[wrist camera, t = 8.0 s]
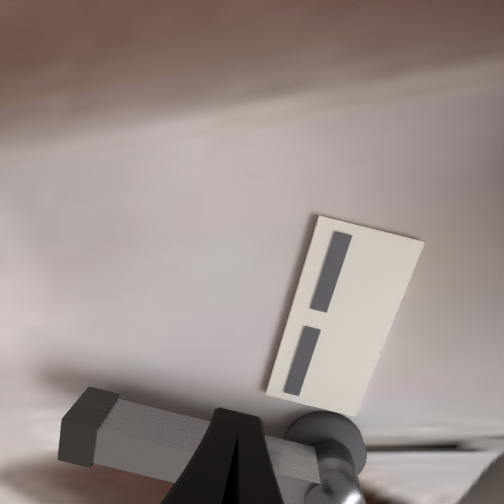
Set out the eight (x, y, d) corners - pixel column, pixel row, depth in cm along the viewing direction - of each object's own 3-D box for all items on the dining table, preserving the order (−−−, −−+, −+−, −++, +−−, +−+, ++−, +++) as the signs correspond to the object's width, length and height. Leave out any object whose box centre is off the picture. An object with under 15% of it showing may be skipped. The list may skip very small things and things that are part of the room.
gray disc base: (348, 482, 19) (351, 495, 18) (275, 464, 19) (275, 477, 18) (373, 422, 17) (378, 434, 17) (296, 403, 17) (297, 414, 17)
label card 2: (385, 333, 16) (388, 337, 16) (289, 310, 16) (290, 313, 16) (421, 240, 15) (425, 242, 14) (318, 214, 15) (319, 215, 14)
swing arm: (359, 447, 17) (376, 496, 14) (343, 486, 17) (355, 540, 15) (91, 380, 16) (59, 418, 14) (85, 423, 17) (54, 466, 15)
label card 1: (353, 412, 17) (355, 418, 17) (265, 391, 17) (265, 396, 17) (385, 333, 16) (388, 337, 16) (289, 310, 16) (290, 313, 16)
